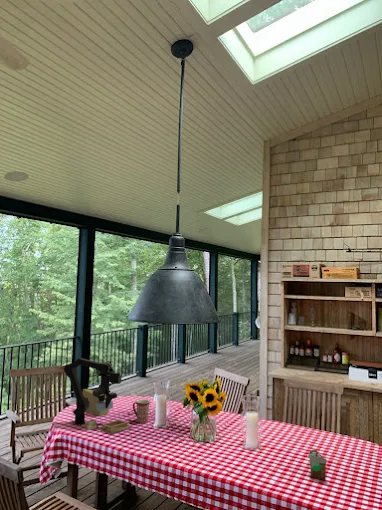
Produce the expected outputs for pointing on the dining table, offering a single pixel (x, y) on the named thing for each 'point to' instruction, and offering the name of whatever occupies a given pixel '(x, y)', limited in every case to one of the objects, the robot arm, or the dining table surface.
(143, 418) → the mug
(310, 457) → the food container
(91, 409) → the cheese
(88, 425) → the tan rectangular block
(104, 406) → the grey block
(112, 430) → the tray
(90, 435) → the dining table surface
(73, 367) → the robot arm
